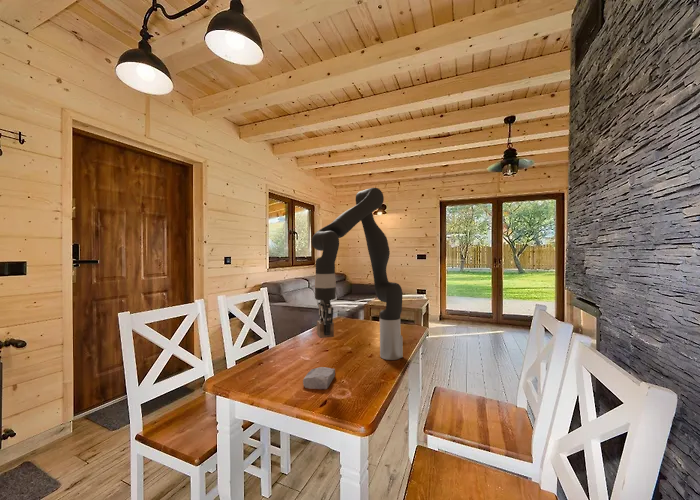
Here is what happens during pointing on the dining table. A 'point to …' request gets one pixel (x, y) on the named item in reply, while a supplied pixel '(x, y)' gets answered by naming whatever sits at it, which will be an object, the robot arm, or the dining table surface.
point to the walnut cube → (321, 329)
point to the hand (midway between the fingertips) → (325, 332)
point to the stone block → (319, 378)
